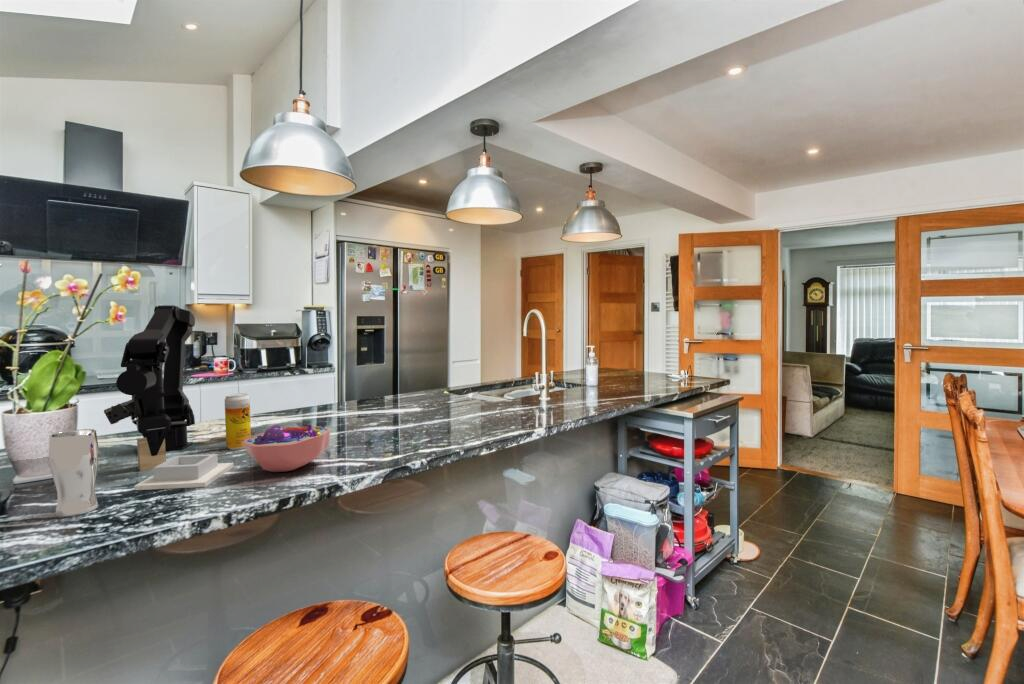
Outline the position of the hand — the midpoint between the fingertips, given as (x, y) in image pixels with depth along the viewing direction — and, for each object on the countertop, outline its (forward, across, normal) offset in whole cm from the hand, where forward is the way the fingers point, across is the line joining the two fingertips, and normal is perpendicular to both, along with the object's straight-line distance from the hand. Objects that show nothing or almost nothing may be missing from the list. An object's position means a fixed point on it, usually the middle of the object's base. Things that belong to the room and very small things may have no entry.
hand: (151, 451), depth 117 cm
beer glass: (+4, +23, -14) cm, 27 cm away
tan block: (+4, 0, 0) cm, 4 cm away
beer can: (+4, -4, +20) cm, 21 cm away
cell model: (+4, +24, +24) cm, 35 cm away
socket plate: (+4, +16, +5) cm, 17 cm away
